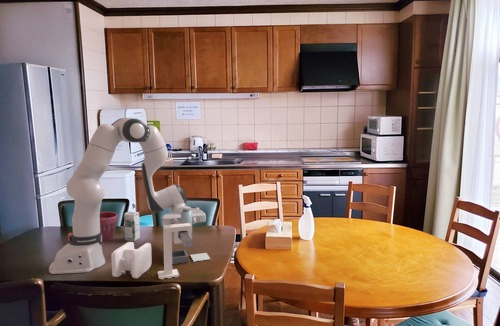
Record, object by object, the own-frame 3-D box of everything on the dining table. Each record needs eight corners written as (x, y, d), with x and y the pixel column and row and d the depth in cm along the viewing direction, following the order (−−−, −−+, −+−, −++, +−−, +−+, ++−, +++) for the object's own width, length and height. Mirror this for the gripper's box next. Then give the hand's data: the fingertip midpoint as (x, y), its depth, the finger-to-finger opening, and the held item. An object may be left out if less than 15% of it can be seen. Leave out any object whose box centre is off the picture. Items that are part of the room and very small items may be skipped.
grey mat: (193, 262, 169) (193, 261, 169) (190, 256, 176) (190, 254, 176) (210, 260, 171) (210, 258, 171) (206, 254, 179) (206, 252, 179)
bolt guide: (159, 279, 151) (158, 229, 148) (157, 273, 157) (156, 225, 154) (192, 275, 156) (191, 226, 153) (189, 269, 161) (189, 222, 158)
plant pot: (109, 243, 191) (108, 219, 190) (84, 242, 194) (83, 218, 192) (123, 234, 205) (122, 212, 204) (99, 233, 208) (98, 210, 206)
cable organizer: (134, 282, 149) (133, 254, 147) (110, 279, 151) (109, 252, 149) (152, 267, 163) (151, 241, 162) (130, 265, 165) (129, 239, 164)
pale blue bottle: (182, 240, 168) (181, 211, 166) (180, 237, 173) (179, 208, 171) (193, 239, 170) (192, 210, 168) (191, 236, 175) (190, 207, 173)
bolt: (183, 249, 142) (182, 239, 141) (174, 232, 162) (174, 223, 161) (193, 248, 143) (193, 238, 143) (183, 231, 163) (183, 223, 162)
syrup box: (124, 240, 197) (123, 213, 195) (130, 236, 202) (129, 210, 200) (134, 241, 195) (133, 214, 193) (140, 237, 201) (139, 211, 199)
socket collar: (168, 265, 166) (168, 258, 165) (165, 257, 174) (165, 251, 174) (188, 262, 169) (188, 256, 168) (185, 255, 177) (185, 249, 177)
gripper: (159, 210, 178) (163, 218, 166) (201, 207, 185) (208, 214, 172) (160, 223, 179) (163, 232, 166) (201, 219, 186) (208, 227, 173)
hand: (186, 223), depth 169 cm, fingers closed on pale blue bottle, 5 cm apart
